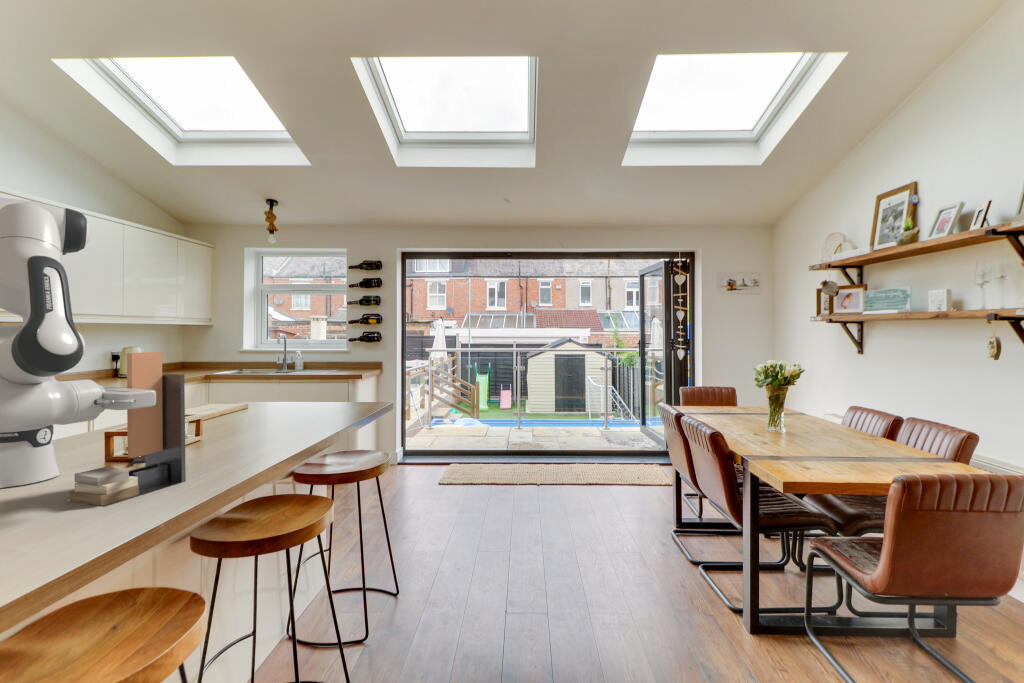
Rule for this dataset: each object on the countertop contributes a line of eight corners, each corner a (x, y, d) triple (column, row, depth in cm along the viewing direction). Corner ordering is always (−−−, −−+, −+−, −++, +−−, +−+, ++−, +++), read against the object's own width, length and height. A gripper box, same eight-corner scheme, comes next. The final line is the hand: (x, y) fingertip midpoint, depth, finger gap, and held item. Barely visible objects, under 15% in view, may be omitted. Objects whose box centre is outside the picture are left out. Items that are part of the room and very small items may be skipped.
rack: (104, 513, 102) (102, 381, 101) (65, 507, 106) (63, 379, 105) (185, 487, 119) (184, 374, 118) (149, 482, 123) (148, 372, 122)
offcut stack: (101, 505, 102) (101, 479, 102) (70, 500, 105) (69, 474, 105) (139, 493, 110) (139, 469, 110) (109, 489, 113) (109, 465, 113)
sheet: (132, 457, 112) (131, 353, 112) (127, 457, 113) (126, 353, 112) (162, 450, 119) (162, 351, 118) (157, 450, 120) (157, 351, 119)
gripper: (114, 388, 100) (179, 381, 113) (47, 383, 106) (116, 377, 119) (115, 419, 100) (179, 409, 113) (48, 412, 106) (116, 403, 119)
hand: (146, 392), depth 116 cm, fingers closed on sheet, 2 cm apart
